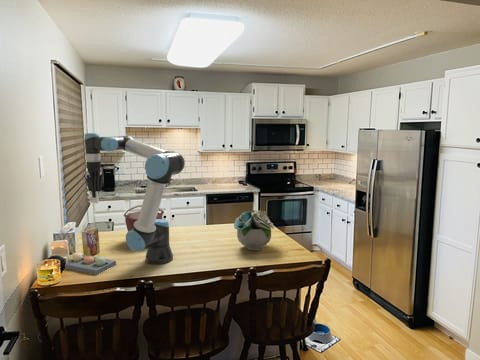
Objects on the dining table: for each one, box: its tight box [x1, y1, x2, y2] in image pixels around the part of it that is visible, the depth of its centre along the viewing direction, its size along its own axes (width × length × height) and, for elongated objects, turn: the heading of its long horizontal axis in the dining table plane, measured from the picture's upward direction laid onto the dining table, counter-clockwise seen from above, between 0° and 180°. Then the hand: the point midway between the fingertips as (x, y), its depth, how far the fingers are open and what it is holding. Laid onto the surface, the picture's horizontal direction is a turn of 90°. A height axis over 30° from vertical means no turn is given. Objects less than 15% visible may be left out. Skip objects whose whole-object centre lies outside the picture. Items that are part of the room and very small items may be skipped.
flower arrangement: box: [233, 209, 275, 252], centre depth 217 cm, size 25×25×24 cm
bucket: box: [123, 204, 165, 232], centre depth 226 cm, size 24×22×25 cm
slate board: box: [65, 254, 117, 276], centre depth 190 cm, size 24×14×2 cm, turn 68°
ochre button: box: [71, 251, 83, 263], centre depth 193 cm, size 5×5×4 cm
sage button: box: [95, 255, 106, 267], centre depth 187 cm, size 5×5×4 cm
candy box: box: [81, 227, 101, 257], centre depth 206 cm, size 9×4×15 cm, turn 156°
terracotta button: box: [84, 255, 95, 265], centre depth 190 cm, size 5×5×4 cm
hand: (96, 202), depth 198 cm, fingers closed
